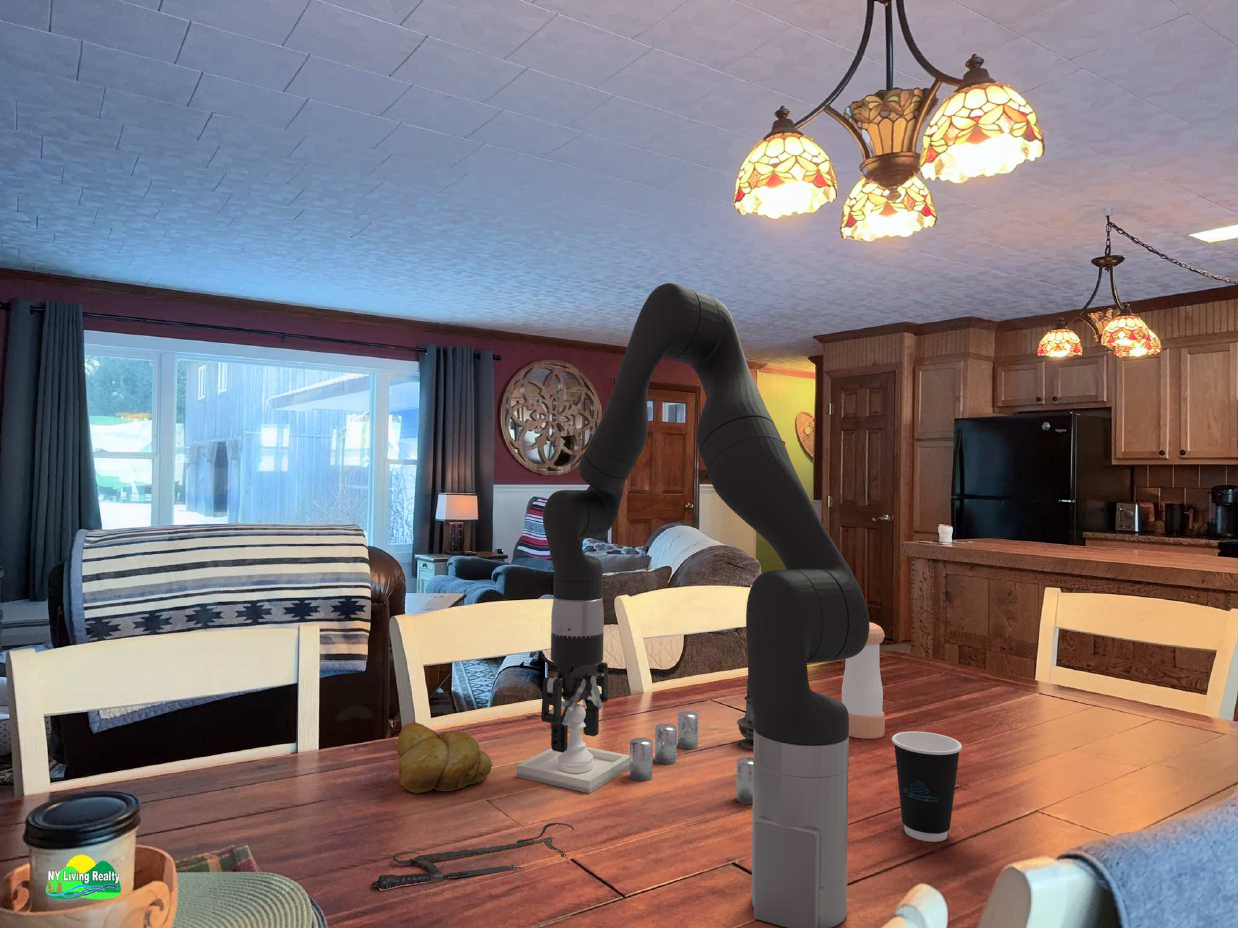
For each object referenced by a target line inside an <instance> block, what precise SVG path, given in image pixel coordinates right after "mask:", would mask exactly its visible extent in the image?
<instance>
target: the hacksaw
mask: <svg viewBox="0 0 1238 928" xmlns="http://www.w3.org/2000/svg"><path fill="white" fill-rule="evenodd" d="M556 824H558V826H559V825H562V826H567V827H569V828H571V830H572V831H575V828H574V827H573V826H572V825H571V824H568V823H562V822H561V823H560V822H550V823H547V824H546V825H544V827H543V828H542V831H541V833H540V834H539V835H538V836H535V837H533V838H526V839H518V840H517V841H516V842H515V843H508V844H505V845H502V844H501V845H493V846H489V847H484V846H483V847H478V848H472V849H463V850H458V851H456V850H455V851H448V852H447V851H446V852H442V853H440V852H437V853H436V852H435V853H428V854H420V852H413V851H406V852H405V851H404V852H400V853H396V854H394V855H393V856H392V861H394V863H396V864H401V865H409V864H410V866H412V865H414V866H417V867H419V868H422V869H425V870H426V871H428V873H426V872H422V873H414V874H402V875H400V874H399V875H396V874H382V875H381V874H380V875H379V876H378V880H375V881H374V880H372V883H370V885H371V886H372V887H373V888H378V887H379V888H381V889H388V888H390V887H391V888H392V887H395V886H400V885H406V884H414V883H420V882H428V881H430V882H431V881H436V880H442V879H443V878H448V877H450V878H448V879H459V878H458V877H460V878H465V877H472V876H478V875H487V874H494V873H500V872H508V871H509V872H510V871H515V870H522V869H525V867H521V866H519V867H514V866H517V865H516V864H511V865H510V866H511V867H510V866H508V865H503V866H501V865H500V866H495V867H487V868H479V869H473V870H464V871H457V872H456V871H455V872H448V873H447V874H443V872H441V871H440V870H441V869H444V866H442V867H440V868H438V867H437V866H436V864H434V862H442V861H443V860H444V861H449V860H457V858H458V859H464V858H467V857H469V856H470V857H474V855H476V856H481V855H486V854H487V853H488V854H493V853H500V852H503V851H504V852H505V851H509V850H514V849H519V848H524V847H528V846H533V845H537V844H545V846H546V847H547V848H548V849H550V850H552V849H553V850H552V851H555V850H559V851H556V852H557V853H558V854H559V853H563V852H564V853H563V854H559V855H560V857H561V858H565V857H566V858H565V859H566V860H568V859H569V858H568V857H567V856H566V855H567V854H566V853H565V851H564V850H562V851H561V849H560V848H557V847H556V846H555V845H553V844H552V843H554V842H553V841H552V840H554V837H553V836H547V837H545V838H541V837H542V836H544V834H545V833H546V830H547V829H548V828H549V827H550V826H554V825H555V826H556ZM549 840H550V841H549ZM403 854H414V855H415V854H417V856H416V857H414V858H409V859H407V860H406V859H405V860H402V859H401V860H400V859H397V856H399V855H403ZM564 855H565V856H564ZM444 861H443V862H444ZM514 868H515V869H514ZM517 868H519V869H517ZM443 880H444V879H443ZM376 886H378V887H376Z"/></svg>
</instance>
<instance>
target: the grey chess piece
mask: <svg viewBox="0 0 1238 928" xmlns="http://www.w3.org/2000/svg"><path fill="white" fill-rule="evenodd" d="M744 700H745V714H744V717H741V718H738V719H737V721H736V724H737V725H738V730H739V732H740V734H741V735H742V737H743V739H741V740H740V741H738V747H740V748H741V749H745V750H747V751H753V750H754V715H753V709H752V705H751V701H750V696H749V688H748V678H747V679H746V696H744Z"/></svg>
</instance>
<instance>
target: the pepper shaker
mask: <svg viewBox="0 0 1238 928" xmlns="http://www.w3.org/2000/svg"><path fill="white" fill-rule="evenodd" d="M869 626H870V630H869V636H868V640H867V643H866V645H865V647H864V648H863V650H862V651H861V652H860V653H859V654H857V655H856V656H854V657H851V658H847V659H845V662H844V663H845V667H844V673H843V678H842V684H841V703H843V704H844V705H845V707H846V708H847V710H848V714H849V737H852V738H857V739H865V740H867V739H869V740H872V739H873V740H874V739H878V738H879V739H881V738H883V737H884V736H885V729H886V728H885V720H886V719H885V718H886V717H885V712H884V711H883V702H884V701H883V700H884V699H883V696H884V689H883V685H882V684H883V683H882V675H881V671H880V669H881V668H880V656H881V655H880V647H881V646H880V644H882V642H884V639H885V637H886V635H885V631H884V629H883V628H882V627H881V626H880V625H878V624H876V623H874V622H871V621H869Z"/></svg>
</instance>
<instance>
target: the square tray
mask: <svg viewBox="0 0 1238 928" xmlns="http://www.w3.org/2000/svg"><path fill="white" fill-rule="evenodd" d="M585 748H586V749H587V750H588V751H589V752H590V753H591V754H592V755H593V759H592V761H593V768H592V769H591V770H589V771H587V772H583V773H567V772H563V771H561V770H560V769H559V768H558V761H559V760H558V756H559V755H560V754H561V753H562V752H557V751H553V750H552V748H548V749H546V750H544V751H542V752H540V753H538V754H536V755H534V756H532V757H530V758H528V759H526V760H524V761H522V762H520V763H518V764H516V770H515V776H516V778H521V779H524V780H529V781H533V780H534V782H537V783H538V782H539V783H542V784H547V785H550V786H554V787H560V788H564V789H569V790H573V791H579V792H582V793H586V794H591V793H592V792H594V791H596V790H597V789H599V788H601V787H602V786H604V785H606V784H607V783H609V782H610V781H612V780H614V779H615V778H616V777H618V776H620V775H621V774H623V773H625V772H626V771H628V770H630V754H626V753H625V754H624V753H619V752H614V751H609V750H604V749H599V748H594V747H590V746H585Z"/></svg>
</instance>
